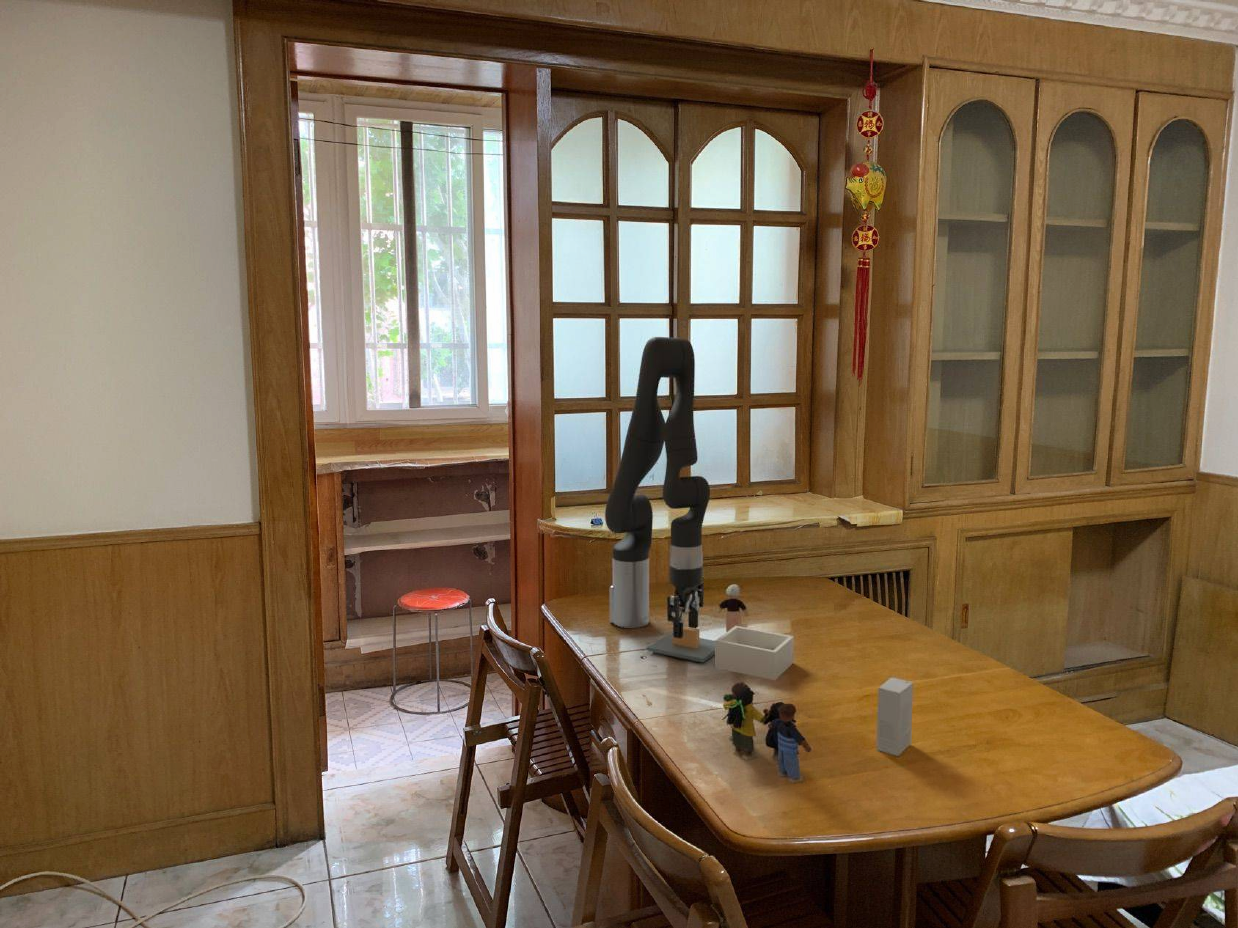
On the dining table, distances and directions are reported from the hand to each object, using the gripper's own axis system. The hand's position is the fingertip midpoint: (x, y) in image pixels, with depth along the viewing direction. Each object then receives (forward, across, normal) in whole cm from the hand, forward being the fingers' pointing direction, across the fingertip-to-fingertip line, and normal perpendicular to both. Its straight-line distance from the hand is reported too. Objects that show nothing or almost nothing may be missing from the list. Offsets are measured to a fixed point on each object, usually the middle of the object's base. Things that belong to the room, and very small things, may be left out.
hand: (685, 632), depth 206 cm
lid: (+5, 0, 0) cm, 5 cm away
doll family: (+6, +38, +34) cm, 51 cm away
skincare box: (+6, +22, +53) cm, 57 cm away
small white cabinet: (+5, 0, +17) cm, 18 cm away
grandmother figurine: (+6, -18, +4) cm, 19 cm away
